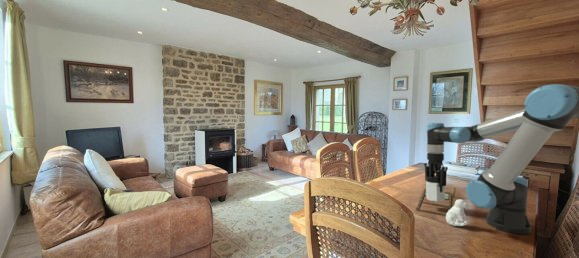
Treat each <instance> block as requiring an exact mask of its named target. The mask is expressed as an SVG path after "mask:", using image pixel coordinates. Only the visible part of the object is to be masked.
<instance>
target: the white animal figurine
mask: <svg viewBox="0 0 579 258" xmlns="http://www.w3.org/2000/svg"><path fill="white" fill-rule="evenodd" d="M467 207H468V203H467V202H465V200H463V199H456V200H455V201H454V205H453V206H452V207H451V209H450V210H449V211H448V210H447V212H446V213H445V214H446V216H445V220H446V223H447V224H449V225H451V226H453V227H464V226H467V225H468V223H470V222H471V221H470V220H471V218H470V217H468V218H467V215H466V213H465V210H464V208H467Z"/></svg>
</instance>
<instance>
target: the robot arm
mask: <svg viewBox="0 0 579 258" xmlns="http://www.w3.org/2000/svg"><path fill="white" fill-rule="evenodd" d="M523 105H524V108H523V109H521V110H518V111H513V112H512V113H507V114H505V115H501V116H499V117H495V118H493V119H489V120H486V121H484V122H480V123H478V124H475V125H471V126H445V124H444V123H443V122H430V123H428V124H427V126H426V127H427V128H426V136H427V137H426V138H427V140H426V142H427V144H426V150H427V151H426V152H427V154H426V159H427V161H428V162H425V163H423V166H424V179H425V182H426V176H436V178H440V183H439V185H438V187H439V186H440V192H442V187H443V186H445V187H446V186H447V176H448V174H447V172H448V169H449V167H448V166H444V163H443V161H445V154H444V152H445V143H456V144H465V143H473V142H474V143H477V142H481V141H484V140H486V139H489V138H492V137H496V136H500V135H504V134H508V133H512V132H515V133H514V134H513V135H512V137H511V138H510V140H509V141H508V142H507V144H506V146H505V147H504V148H503V150H502V151H501V152H500V154H499V155H498V157H497V158H496V159H495V161H494V162H493V164H492V165H491V167H490V168H488V169H487V170H486V169H485V170H483V171H482V172H481V173H480V174H479V176H478V177H477V179H473V180H470V181H469V182H468V183H467V184H466V186H465V193H466V196H467V198H468V200H469V201H470V203H471V204H472V205H474V207H477V208H480V209H485V210H487V209H488V210H489V211H488V213H487V215H486V217H485V223H486V224H487V225H488V226H491V227H492V228H495V229H496V230H499V231H501V232H505V233H511V234H517V235H527V234H531V233H532V226H531V222H530V220H529V217H528V214H527V207H528V206H527V204H528V190H529V185H528V180H527V178H525V177H521V176H520V175H521V174H522V173H523V171H524V170H525V169H526V167H527V166H528V165H529V164H530V163H531V161H532V160H533V158H534V157H535V156H536V155H537V154H538V152H539V151H540V150H541V148H542V147H543V146H544V144H545V143H546V142H547V141H548V140H549V139H550V138H551V136H552V134H553V133H555V132H559V131H563V130H564V129H565V128H566V127H567V125H569V123H570V122H571V121H572V120H574V119H575V120H576V119H579V85H568V84H560V83H559V84H558V83H554V84H553V83H552V84H547V85H542V86H539V87H537V88H535V89H533V90H532V91H531V92H530V93H529V94H528V95H527V96H526V98H525V100H524V104H523Z"/></svg>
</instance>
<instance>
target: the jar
mask: <svg viewBox="0 0 579 258" xmlns="http://www.w3.org/2000/svg"><path fill="white" fill-rule="evenodd" d="M439 183H440V178H436V175H435V176H426V181H425V189H426V192H425V194H426V197H425V198H426V199H427V201H431V202H437V203H438V202H439V203H440V202H445V201H446V200H445V192H446V190H445V187H446V186H443V187H442V192H440V186H439V187H438V185H439Z"/></svg>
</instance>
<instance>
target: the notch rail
mask: <svg viewBox="0 0 579 258" xmlns="http://www.w3.org/2000/svg"><path fill="white" fill-rule="evenodd" d="M424 197H425V198H426V188H425V189H423V192H422V193H421V196H420V199H419V201H418V204H417V206H416V208H415V211H416V210H417V211H416V212H422V213H428V214H434V215H439V216H442V217H443V216H444V217H446V214H447V213H442V212H441V213H440V212H437V211H431V210H426V209H420V207H421V204H425V205H431V206H437V207H441V208H442V207H444V208H447V212H448V211H449V210H450V209H451V208H452V207H451V206H452V198H453V199H456V187H454V186H452V188H451V192H446V191H445V201H448V205H444V204H440V203H439V204H438V203H434V202H433V203H432V202H426V201H423V200H424Z"/></svg>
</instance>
